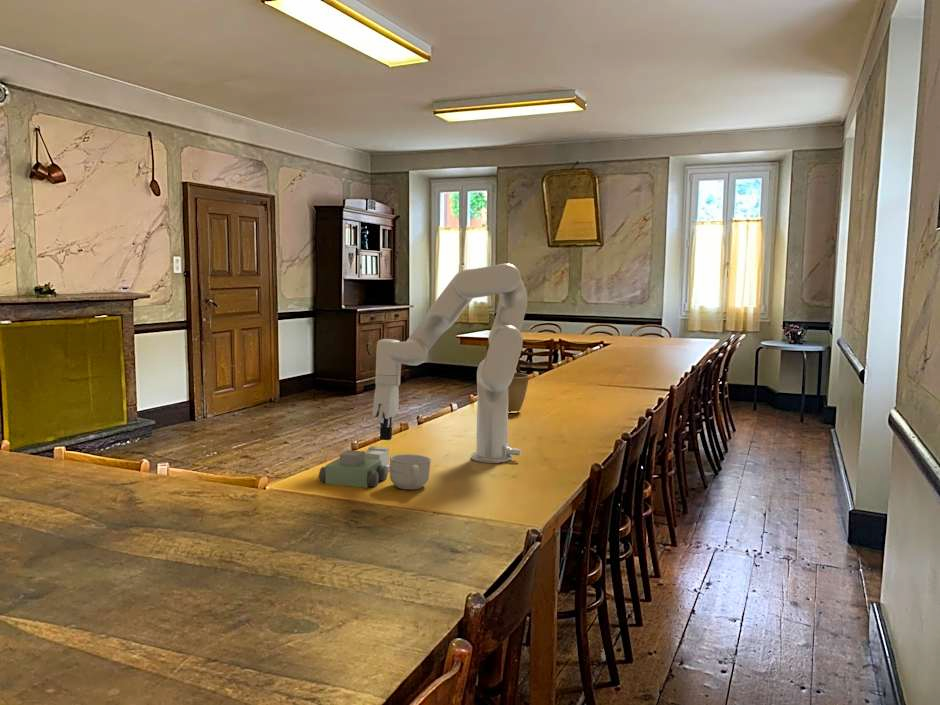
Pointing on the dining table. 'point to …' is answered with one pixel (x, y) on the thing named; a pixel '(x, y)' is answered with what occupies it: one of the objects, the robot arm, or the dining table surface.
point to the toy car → (354, 470)
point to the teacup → (409, 470)
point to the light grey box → (378, 454)
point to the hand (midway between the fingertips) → (385, 439)
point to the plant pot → (517, 391)
